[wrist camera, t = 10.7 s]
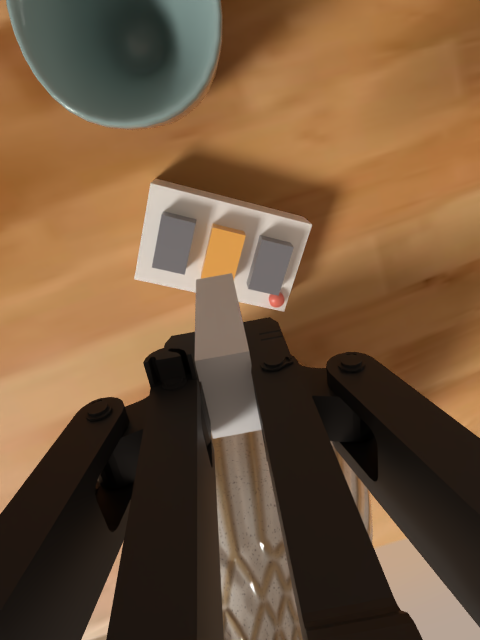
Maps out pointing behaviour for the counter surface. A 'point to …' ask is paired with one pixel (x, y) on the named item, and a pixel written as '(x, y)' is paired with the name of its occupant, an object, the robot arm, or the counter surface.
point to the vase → (259, 541)
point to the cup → (122, 56)
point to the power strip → (220, 243)
